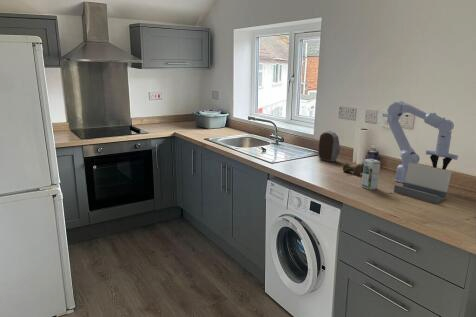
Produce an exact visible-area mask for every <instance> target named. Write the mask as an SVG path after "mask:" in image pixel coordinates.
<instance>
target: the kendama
mask: <svg viewBox="0 0 476 317" xmlns="http://www.w3.org/2000/svg"><path fill="white" fill-rule="evenodd" d="M363 168H364V162H362V163H359V164H358V165H352V164H350V163H349V162H345V163H343V166H342V171H343V172H344V173H348V172H352V173H354V175H355V176H360V175H361V173H362V172H363Z"/></svg>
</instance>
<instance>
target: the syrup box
mask: <svg viewBox="0 0 476 317" xmlns="http://www.w3.org/2000/svg"><path fill="white" fill-rule="evenodd" d="M363 163H364V168H363V171H362V178H361V183H360V184H361V186H360V187H361V188H364V189H367V190H369V191H370V190H376V189H378V183H379V176H380V169H381V163H382V162H381V160H376V159H373V158H366V159H364V161H363Z"/></svg>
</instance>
